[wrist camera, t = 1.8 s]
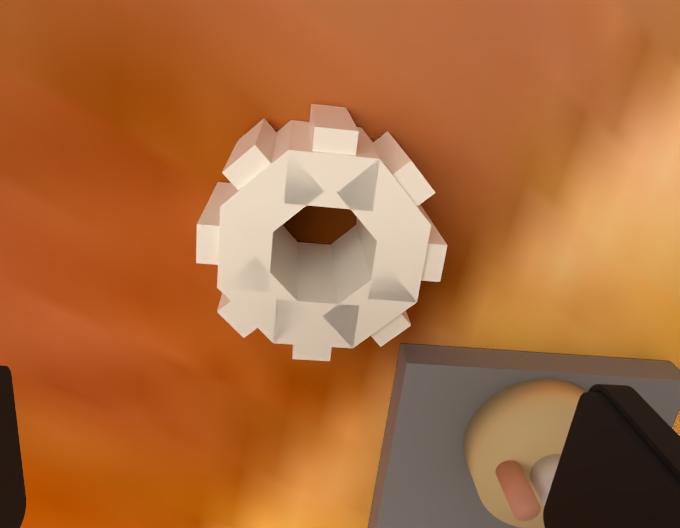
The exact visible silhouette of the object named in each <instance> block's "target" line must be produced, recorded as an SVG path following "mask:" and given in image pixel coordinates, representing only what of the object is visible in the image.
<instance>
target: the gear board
mask: <svg viewBox="0 0 680 528" xmlns="http://www.w3.org/2000/svg"><path fill="white" fill-rule="evenodd" d="M595 384H610V385H627V386H630V387H632V388H633V389H635V390H636V392H637V393H638V394H639V395H640V396H641V397H642V398H643V399H644V400H645V401H646V402H647V403H648V404H649V405H650V406H651V407H652V408H653V409H654V410H655V411H656V412H657V413H658V414H659V415H660V416H661V418H662V419H663V420H664V421H665V422H666V423H667V424H668V425H669V426H670V427H671V428H672V427H673V424H674V422H675V419H676V417H677V415H678V412H679V410H680V370H679V369H678V368H677V367H676V366H675V365H674V364H672V363H671V362H670V361H661V360H646V359H630V358H615V357H600V356H585V355H570V354H555V353H540V352H524V351H509V350H494V349H479V348H464V347H449V346H434V345H418V344H403V343H401V344H400V349H399V355H398V360H397V366H396V372H395V377H394V383H393V389H392V394H391V400H390V405H389V411H388V417H387V422H386V428H385V434H384V439H383V445H382V450H381V456H380V462H379V467H378V473H377V479H376V484H375V490H374V495H373V501H372V507H371V512H370V518H369V524H368V528H545V526H544V521H543V511H544V506H545V503H546V500H547V497H548V494H549V491H550V488H551V484H552V481H553V478H554V475H555V472H556V469H557V466H558V463H559V460H560V456H561V453H562V450H563V447H564V444H565V441H566V438H567V435H568V432H569V429H570V425H571V422H572V419H573V416H574V413H575V410H576V407H577V404H578V401H579V398H580V396H581V395H582V394H583V393H584V392H588V391H589V389H590V388H591V387H592V386H593V385H595Z"/></svg>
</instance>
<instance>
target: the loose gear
mask: <svg viewBox="0 0 680 528" xmlns="http://www.w3.org/2000/svg"><path fill="white" fill-rule="evenodd" d="M222 173H223V174H224V175H225V176H226V177H227V179H228V180H229V181H230V183H223V182H218V183H217V185H216V187H215V189H214V191H213V193H212V195H211V197H210V199H209V201H208V203H207V205H206V207H205V209H204V211H203V213H202V215H201V217H200V219H199V221H198V223H197V247H196V263H203V264H216V265H218V279H217V288H218V289H219V290H220V291H221V292H222V296H221V299H220V303H219V306H218V310H217V312H218V313H219V314H220V315H221V316H222V317H223V318H224V319H225V320H226V321H227V322H228V323H229V324H230V325H231V326H232V327H233V328H234V329H235V330H236V331H237V332H238V333H239V334H240V335H241V336H242V337H243V338H245V337H246V336H247V335H249V334H250V333H251V332H252V331H254V330H255V329H256V328H258V329H259V330H260V331H261V332H262V333H263V334H264V335H265V336H266V337H267V338H268V339H269V340H270V341H271V342H273V343H278V344H293V351H292V359H301V360H317V361H330V357H331V349H332V347H340V348H354V347H355V346H357V345H358V344H360V343H361V342H362V341H364V340H365V339H367V338H368V337H369V336H371V337H372V338H373V339H374V340H375V341H376V342H377V343H378V344H379V346H380V347H381V346H383V345H384V344H386V343H387V342H388V341H390V340H391V339H393V338H394V337H396V336H397V335H398V334H400V333H401V332H403V331H404V330H405V329H407V328H408V327H410V326H411V323H410V321H409V318H408V315H407V313H406V310H407V309H408V308H410V307H411V306H413V305H414V304H415V303H417V300H418V294H419V289H420V284H421V281H434V282H440V280H441V275H442V270H443V265H444V260H445V255H446V250H447V244H446V242H445V241H444V239H443V238H442V236H441V235H440V233H439V232H438V230H437V229H436V227H435V226H434V224H433V223H432V221H431V220H430V218H429V217H428V215H427V214H426V212H425V211H424V209H423V208H422V206H421V205H420V204H421V203H423V202H424V201H425V200H427V199H428V198H429V197H431V196H432V195H433V194H435V191H434V190H433V189H432V187H431V186H430V185H429V183H428V182H427V181H426V179H425V178H424V177H423V175H422V174H421V173H420V171H419V170H418V169H417V168H416V166H415V165H414V164H413V162H412V161H411V160H410V158H409V157H408V156H407V155H406V153H405V152H404V151H403V150H402V148H401V147H400V146H399V145H398V143H397V142H396V141H395V140H394V138H393V137H392V136H391V135H390V133H389V132H388V131H387V132H386V133H385V134H383V135H382V136H381V137H380V138H378V139H377V140H376V141H375V142H372V141H371V139H370V138H369V137H368V135H367V134H366V133H365V131H364V130H363V129H362V127H356V125H355V123H354V122H353V120H352V118H351V116H350V114H349V112H348V110H347V109H346V107H337V106H328V105H318V104H311V111H310V122H305V121H295V120H290V121H289V122H288V123H287V124H286V125H284V126H283V127H282V128H281V129H280V130H279V131H277V132H276V131H275V130H274V129H273V128H272V127H271V125H270V124H269V123H268V122H267V121H266V119H265V118H264V119H263V120H261V121H260V122H259V123H258V124H257V125H256V126H254V127H253V128H252V129H251V130H250V131H248V132H247V133H246V134H245V135H244V136H243V137H241V138H240V139H239V140H238V142H237V144H236V146H235V148H234V150H233V152H232V154H231V156H230V158H229V160H228V162H227V164H226V166H225V167H224V169H223V171H222ZM306 205H308V206H319V207H330V208H341V209H351V210H352V212H353V213H354V214H355V215H356V216H357V220H356V225H355V226H354V227H353V228H351V229H350V230H349V231H347V232H346V233H345V234H343V235H342V236H341V237H340V238H338V239H337V240H336V241H334V242H333V243H332V244H330V245H328V244H316V243H304V242H297V241H296V239H295V238H294V237H293V236H292V235H291V234H290V233H289V232H288V231H287V229H286V228H285V227H284V226H283V224H284V223H285V222H286V221H288V220H289V219H290V218H291V217H293V216H294V215H295V214H296V213H298V212H299V211H300V210H301V209H303V208H304V207H305V206H306Z"/></svg>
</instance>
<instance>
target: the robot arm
mask: <svg viewBox="0 0 680 528" xmlns="http://www.w3.org/2000/svg"><path fill="white" fill-rule="evenodd" d="M25 510H26V494H25V486H24V478H23V469H22V461H21V452H20V444H19V435H18V427H17V418H16V410H15V402H14V393H13V385H12V376H11V371H10V369H9V367H7V366H0V528H20V526H21V524H22V521H23V518H24V514H25ZM543 521H544V526H545V528H680V436H679V435H678V434H677V433H676V432H675V431H674V430H673V429H672V428H671V427H670V426H669V425H668V424H667V423H666V422H665V421H664V420H663V419H662V418H661V416H660V415H659V414H658V413H657V412H656V411H655V410H654V409H653V408H652V407H651V406H650V405H649V404H648V403H647V402H646V401H645V400H644V399H643V398H642V397H641V396H640V395H639V394H638V393H637V392H636V390H635V389H633V388H632V387H630V386H627V385H610V384H595V385H593V386H592V387H591V388H590V389H589V391H588V392H584V393H583V394H582V395H581V396H580V398H579V401H578V404H577V407H576V410H575V413H574V416H573V419H572V422H571V425H570V429H569V432H568V435H567V438H566V441H565V444H564V447H563V450H562V453H561V456H560V460H559V463H558V466H557V469H556V472H555V475H554V478H553V481H552V484H551V488H550V491H549V494H548V497H547V500H546V503H545V506H544V511H543Z"/></svg>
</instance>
